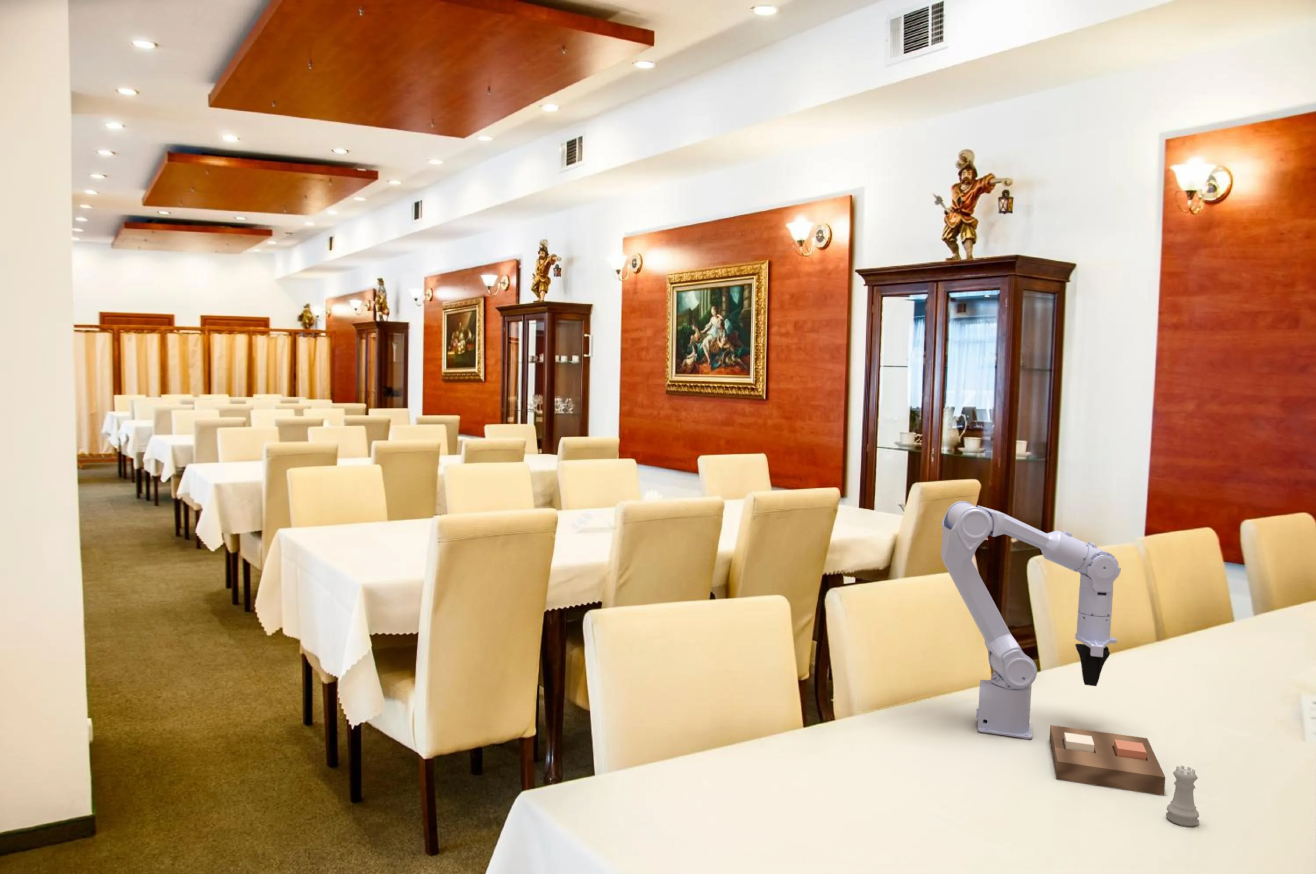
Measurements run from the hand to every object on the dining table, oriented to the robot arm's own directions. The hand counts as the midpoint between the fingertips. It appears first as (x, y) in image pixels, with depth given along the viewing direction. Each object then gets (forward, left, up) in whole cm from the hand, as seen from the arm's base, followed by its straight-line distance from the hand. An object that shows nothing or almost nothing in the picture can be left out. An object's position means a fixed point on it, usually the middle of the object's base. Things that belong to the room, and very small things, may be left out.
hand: (1090, 684), depth 180 cm
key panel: (+1, -16, -9) cm, 19 cm away
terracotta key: (+5, -16, -9) cm, 19 cm away
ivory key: (-3, -16, -9) cm, 18 cm away
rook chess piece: (+10, -34, -10) cm, 37 cm away
